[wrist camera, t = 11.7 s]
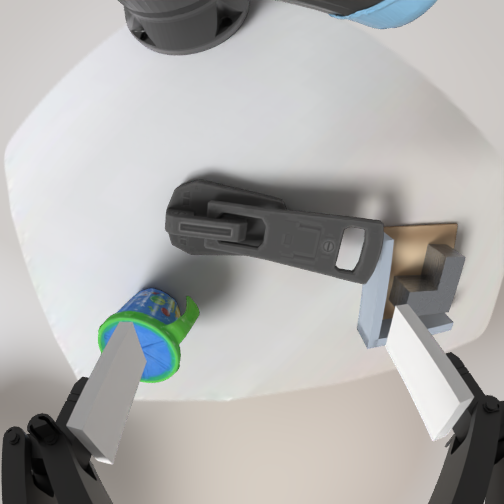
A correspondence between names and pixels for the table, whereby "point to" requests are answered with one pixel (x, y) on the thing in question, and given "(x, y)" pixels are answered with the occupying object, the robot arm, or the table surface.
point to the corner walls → (374, 304)
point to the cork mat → (414, 250)
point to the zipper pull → (266, 230)
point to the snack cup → (154, 330)
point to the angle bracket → (430, 282)
